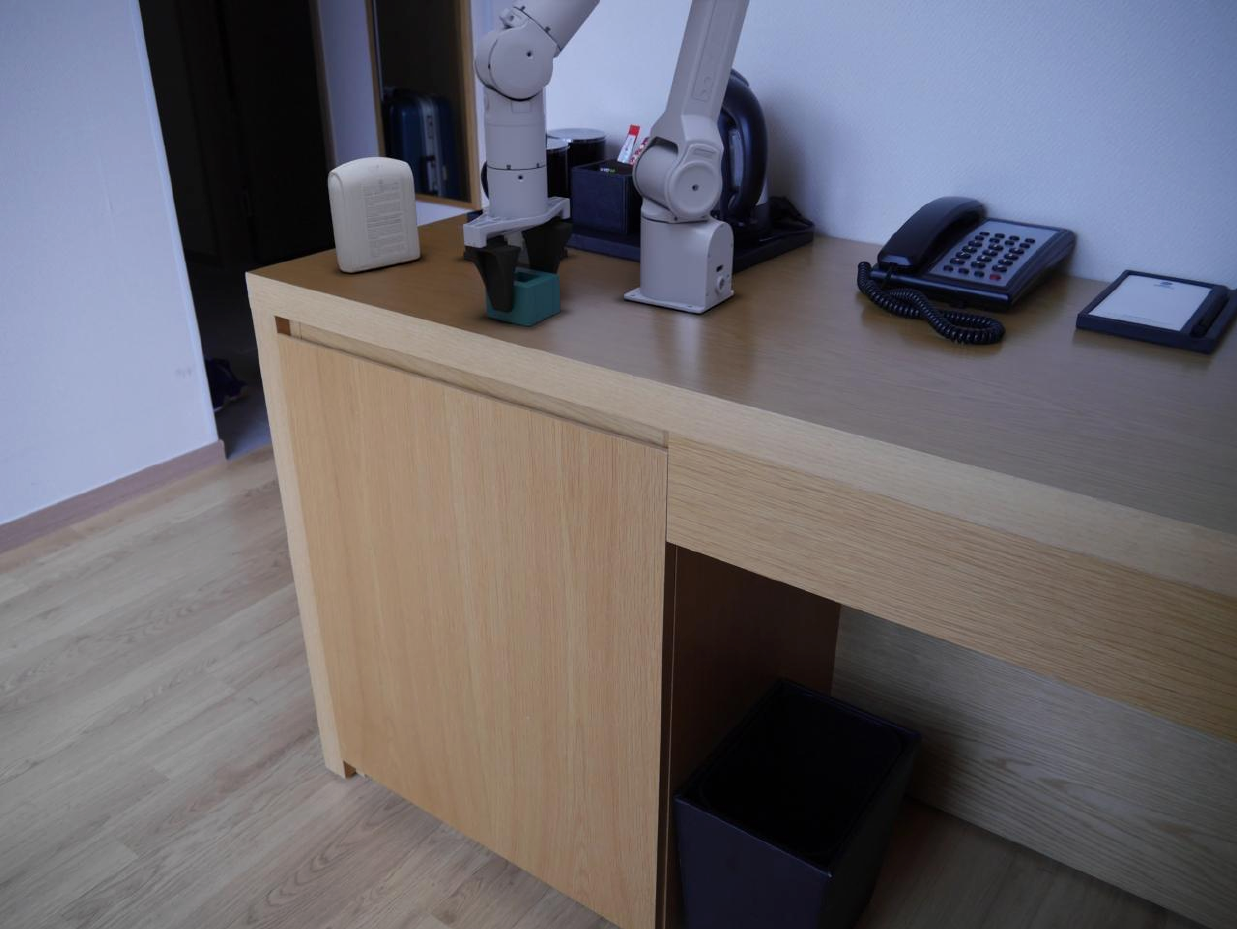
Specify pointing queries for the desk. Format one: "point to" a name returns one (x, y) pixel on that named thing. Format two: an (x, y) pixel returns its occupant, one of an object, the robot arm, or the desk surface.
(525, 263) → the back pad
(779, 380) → the desk surface
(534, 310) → the teal block with hole
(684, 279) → the robot arm
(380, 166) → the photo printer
